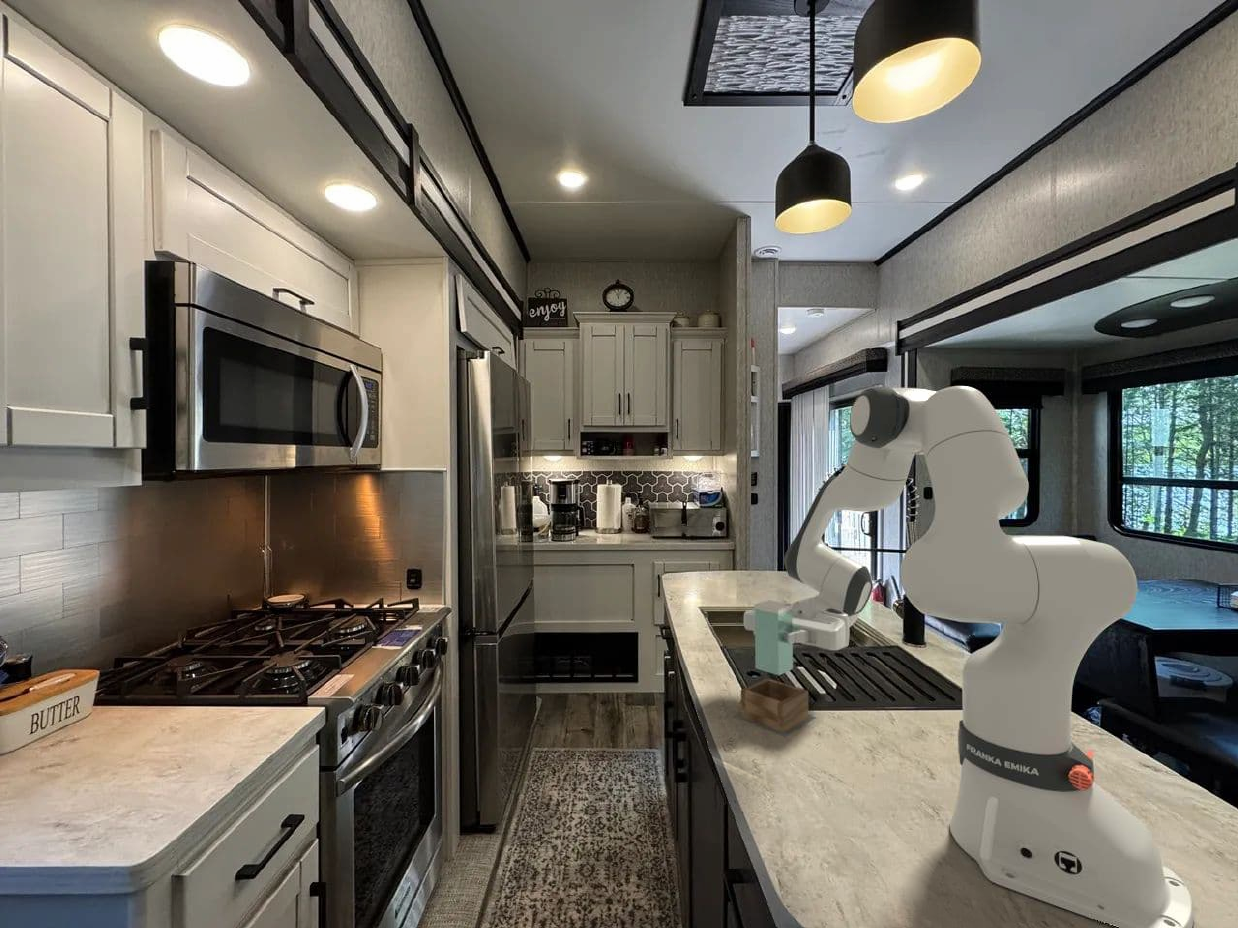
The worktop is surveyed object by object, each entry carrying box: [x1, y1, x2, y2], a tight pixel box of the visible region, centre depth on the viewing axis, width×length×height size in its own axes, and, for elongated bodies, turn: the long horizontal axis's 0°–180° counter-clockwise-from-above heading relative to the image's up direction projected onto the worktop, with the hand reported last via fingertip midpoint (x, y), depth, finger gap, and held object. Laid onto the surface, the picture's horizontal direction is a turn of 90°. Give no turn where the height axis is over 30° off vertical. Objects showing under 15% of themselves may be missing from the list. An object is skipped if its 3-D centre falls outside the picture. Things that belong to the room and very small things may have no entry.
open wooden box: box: [740, 677, 810, 732], centre depth 105 cm, size 9×9×5 cm
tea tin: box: [753, 599, 794, 676], centre depth 105 cm, size 5×5×12 cm
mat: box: [733, 712, 817, 737], centre depth 105 cm, size 11×11×1 cm
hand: (771, 635), depth 104 cm, fingers closed on tea tin, 5 cm apart
